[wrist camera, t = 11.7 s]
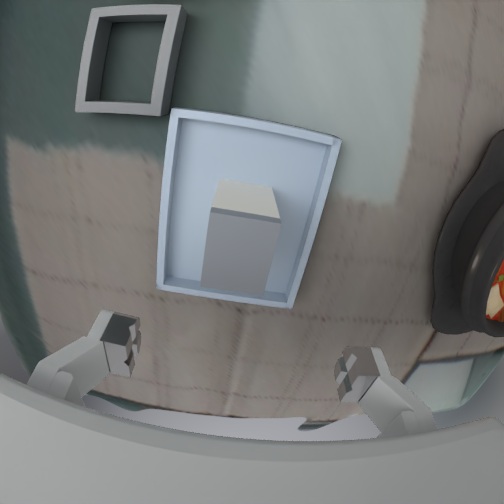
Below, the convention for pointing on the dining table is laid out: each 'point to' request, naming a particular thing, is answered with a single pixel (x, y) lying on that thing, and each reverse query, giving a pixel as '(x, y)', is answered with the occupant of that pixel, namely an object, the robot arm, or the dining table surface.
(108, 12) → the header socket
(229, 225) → the plug
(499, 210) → the casserole
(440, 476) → the robot arm
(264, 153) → the tray
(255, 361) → the dining table surface
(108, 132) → the dining table surface
